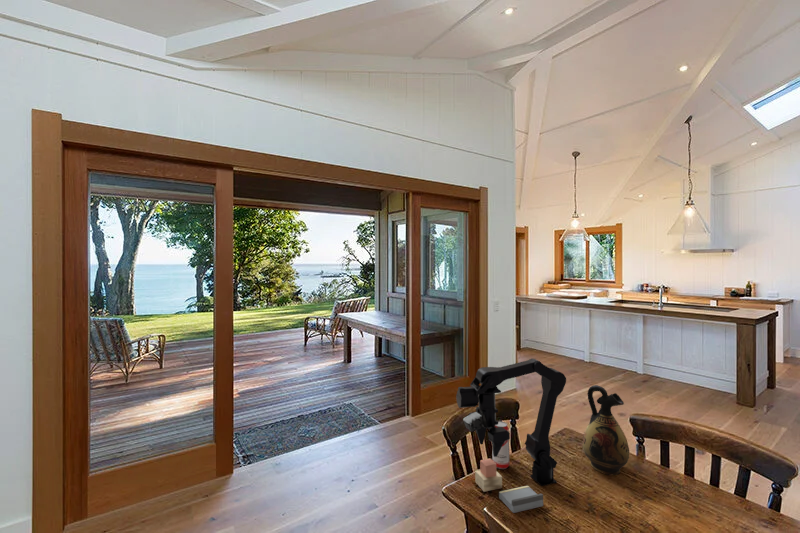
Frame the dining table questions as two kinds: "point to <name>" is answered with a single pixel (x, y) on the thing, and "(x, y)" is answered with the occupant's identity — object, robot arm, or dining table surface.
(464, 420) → the robot arm
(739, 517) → the dining table surface
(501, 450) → the beer can
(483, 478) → the beige slotted block
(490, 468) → the block
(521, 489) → the dock
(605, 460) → the ceramic jug
